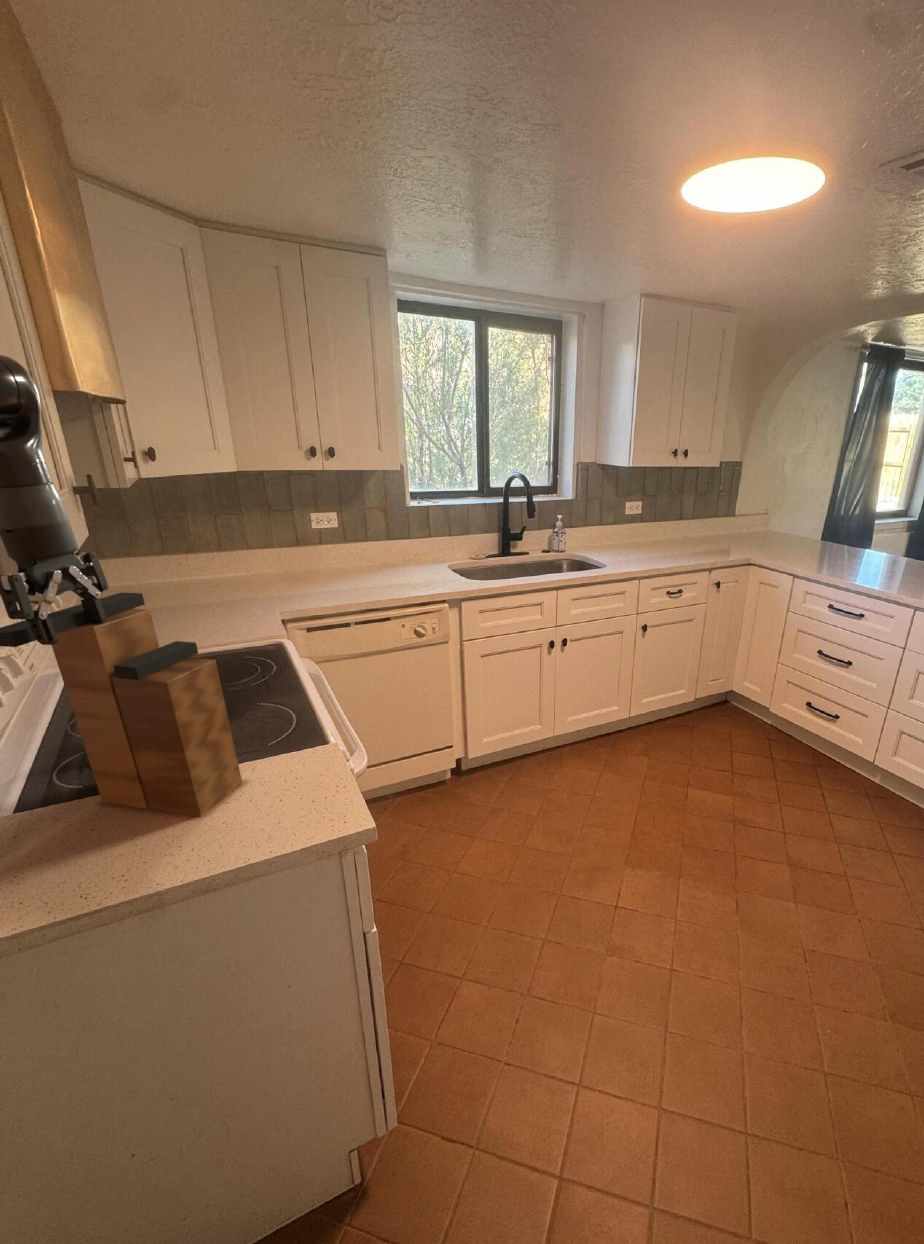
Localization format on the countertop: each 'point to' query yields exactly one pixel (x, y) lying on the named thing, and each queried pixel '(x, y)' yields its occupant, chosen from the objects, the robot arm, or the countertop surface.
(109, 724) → the step stand
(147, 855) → the countertop surface
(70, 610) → the long pad
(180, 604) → the countertop surface
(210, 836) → the countertop surface
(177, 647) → the short pad
